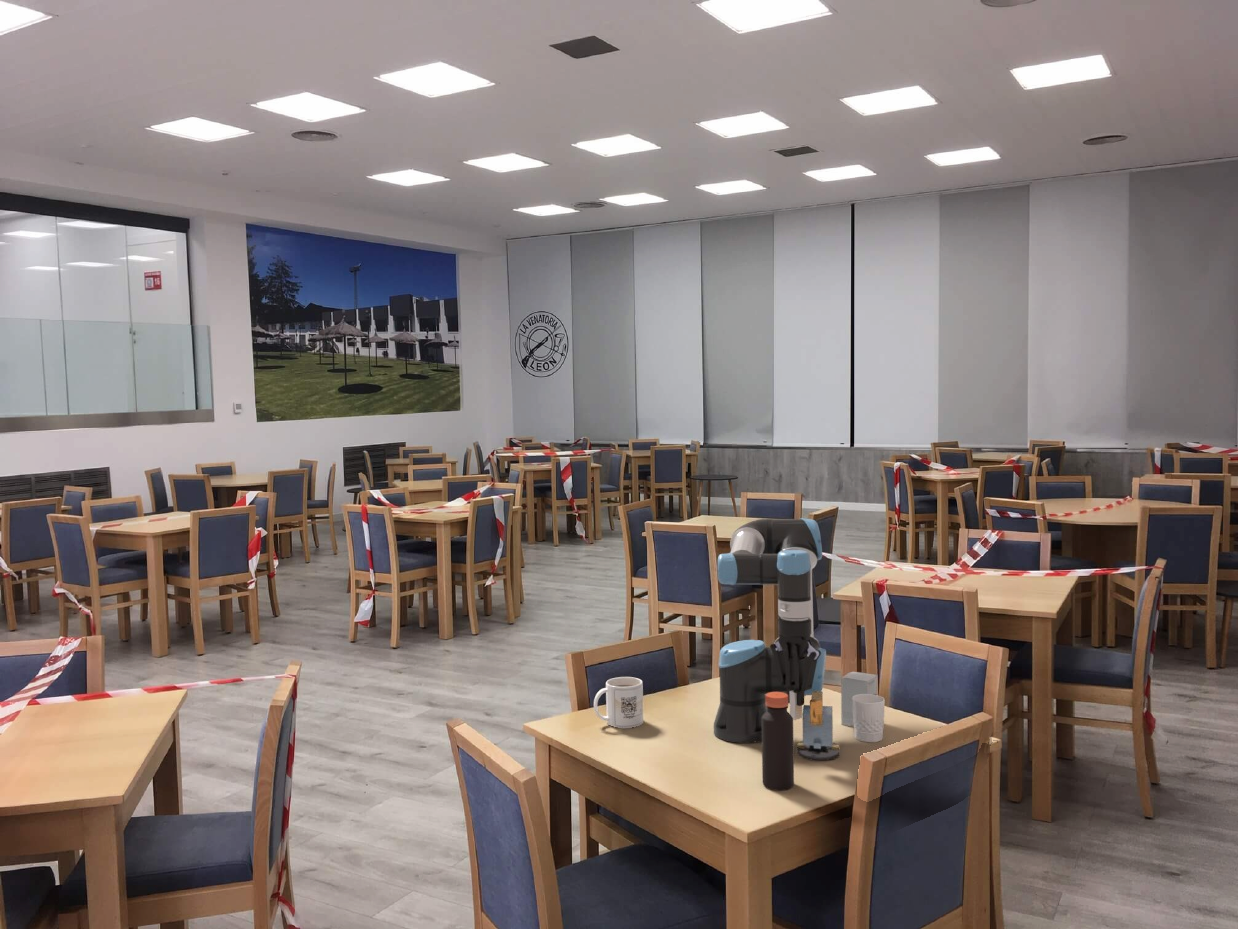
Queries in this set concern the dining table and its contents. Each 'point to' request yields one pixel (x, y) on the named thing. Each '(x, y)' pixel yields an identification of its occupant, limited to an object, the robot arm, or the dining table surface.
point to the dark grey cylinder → (818, 752)
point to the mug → (622, 702)
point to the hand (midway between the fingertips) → (796, 718)
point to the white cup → (868, 717)
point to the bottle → (777, 743)
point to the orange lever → (817, 722)
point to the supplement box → (855, 692)
